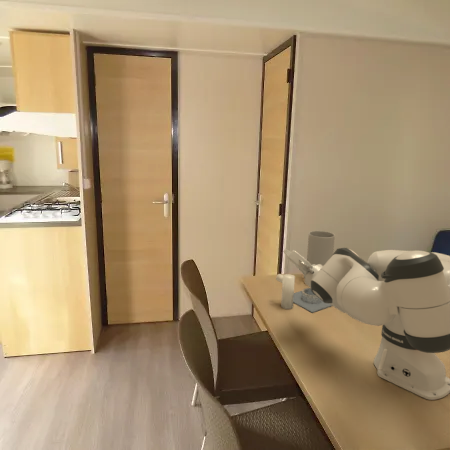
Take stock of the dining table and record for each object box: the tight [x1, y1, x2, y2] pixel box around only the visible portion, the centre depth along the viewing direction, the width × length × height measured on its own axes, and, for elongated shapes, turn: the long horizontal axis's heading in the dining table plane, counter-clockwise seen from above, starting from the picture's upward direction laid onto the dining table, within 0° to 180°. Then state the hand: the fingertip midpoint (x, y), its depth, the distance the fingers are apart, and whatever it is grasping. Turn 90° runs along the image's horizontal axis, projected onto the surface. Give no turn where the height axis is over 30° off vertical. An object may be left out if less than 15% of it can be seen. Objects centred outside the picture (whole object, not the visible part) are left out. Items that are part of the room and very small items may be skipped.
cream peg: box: [275, 273, 296, 310], centre depth 159 cm, size 8×5×14 cm, turn 34°
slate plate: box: [293, 290, 333, 314], centre depth 165 cm, size 18×18×1 cm
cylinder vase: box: [306, 230, 336, 266], centre depth 184 cm, size 12×12×25 cm
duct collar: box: [301, 287, 322, 304], centre depth 165 cm, size 9×9×4 cm
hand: (289, 254), depth 139 cm, fingers open, 8 cm apart
